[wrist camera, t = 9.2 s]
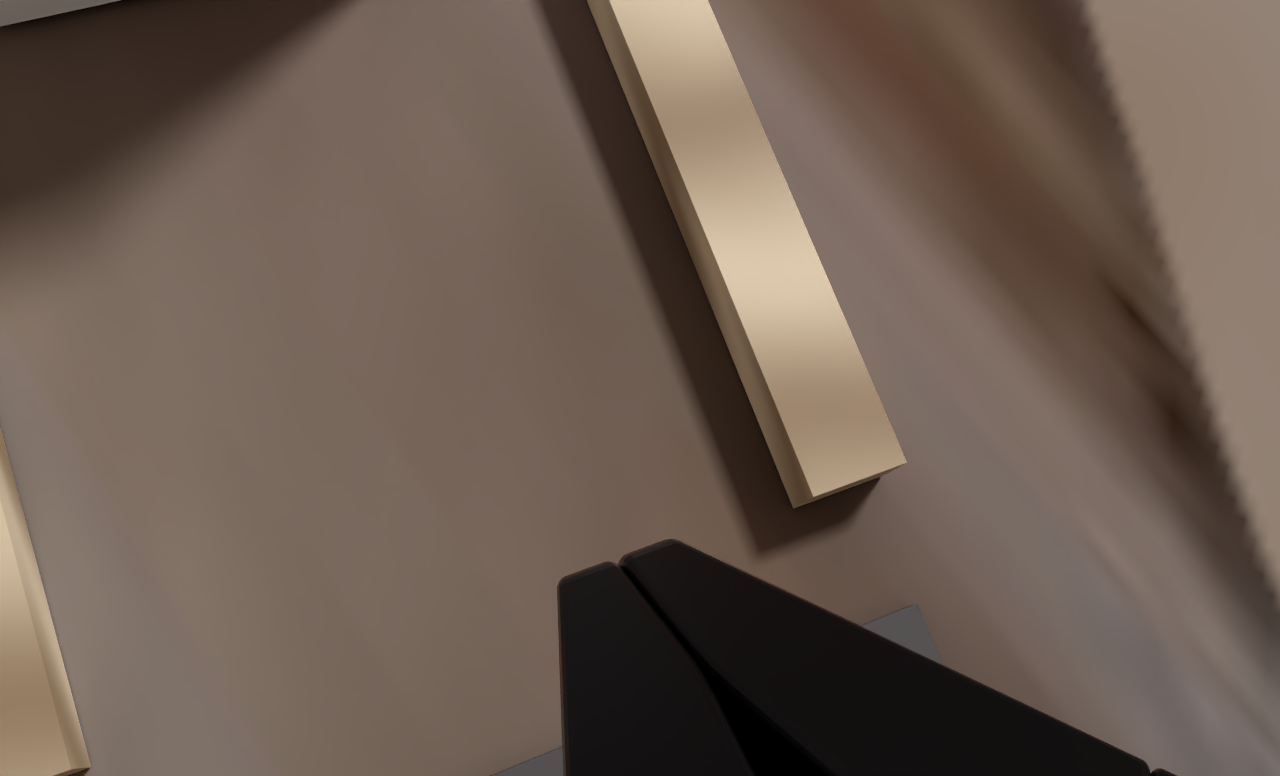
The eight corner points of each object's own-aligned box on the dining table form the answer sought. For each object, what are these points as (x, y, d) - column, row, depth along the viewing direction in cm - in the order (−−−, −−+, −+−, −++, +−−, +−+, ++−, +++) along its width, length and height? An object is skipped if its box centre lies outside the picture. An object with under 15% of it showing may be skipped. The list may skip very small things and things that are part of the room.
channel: (883, 475, 23) (906, 462, 22) (-41, 814, 19) (-70, 820, 18) (632, -113, 26) (642, -151, 25) (-223, 58, 21) (-259, 21, 20)
